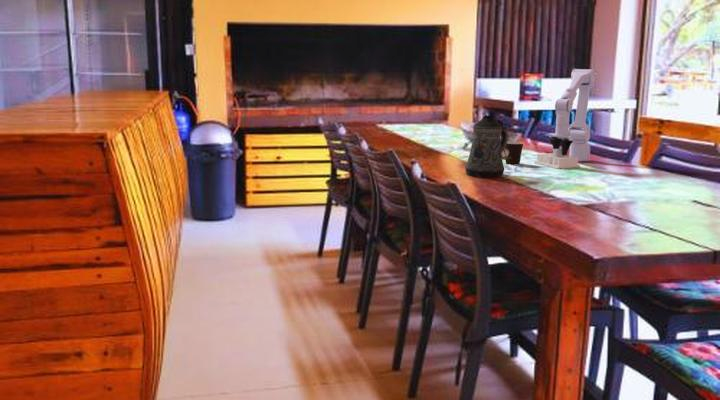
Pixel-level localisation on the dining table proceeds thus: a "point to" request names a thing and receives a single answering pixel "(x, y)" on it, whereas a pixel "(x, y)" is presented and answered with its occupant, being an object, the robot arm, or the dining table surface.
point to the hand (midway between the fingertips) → (560, 154)
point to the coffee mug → (513, 152)
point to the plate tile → (558, 153)
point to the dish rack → (557, 161)
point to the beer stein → (487, 149)
